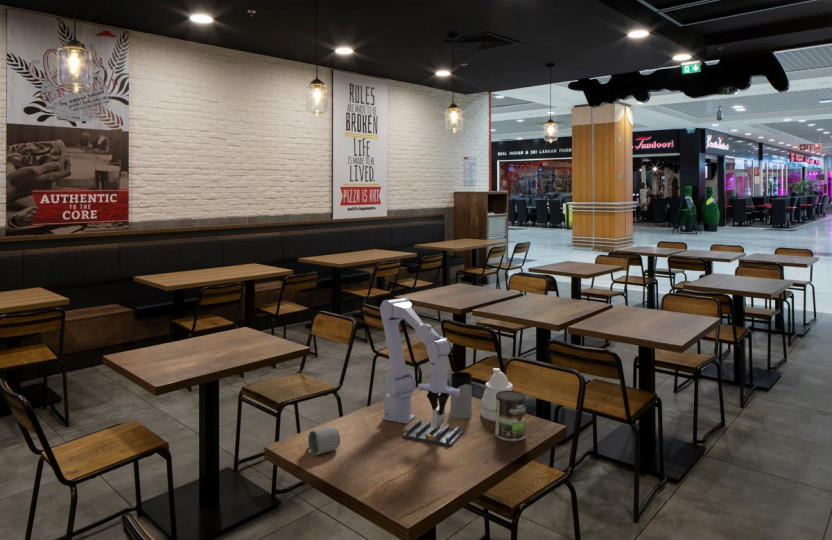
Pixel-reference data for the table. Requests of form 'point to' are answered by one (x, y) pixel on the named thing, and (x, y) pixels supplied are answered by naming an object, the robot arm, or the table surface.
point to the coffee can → (510, 415)
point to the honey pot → (493, 394)
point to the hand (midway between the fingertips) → (438, 413)
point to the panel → (437, 418)
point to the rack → (433, 433)
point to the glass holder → (461, 395)
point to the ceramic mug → (323, 440)
